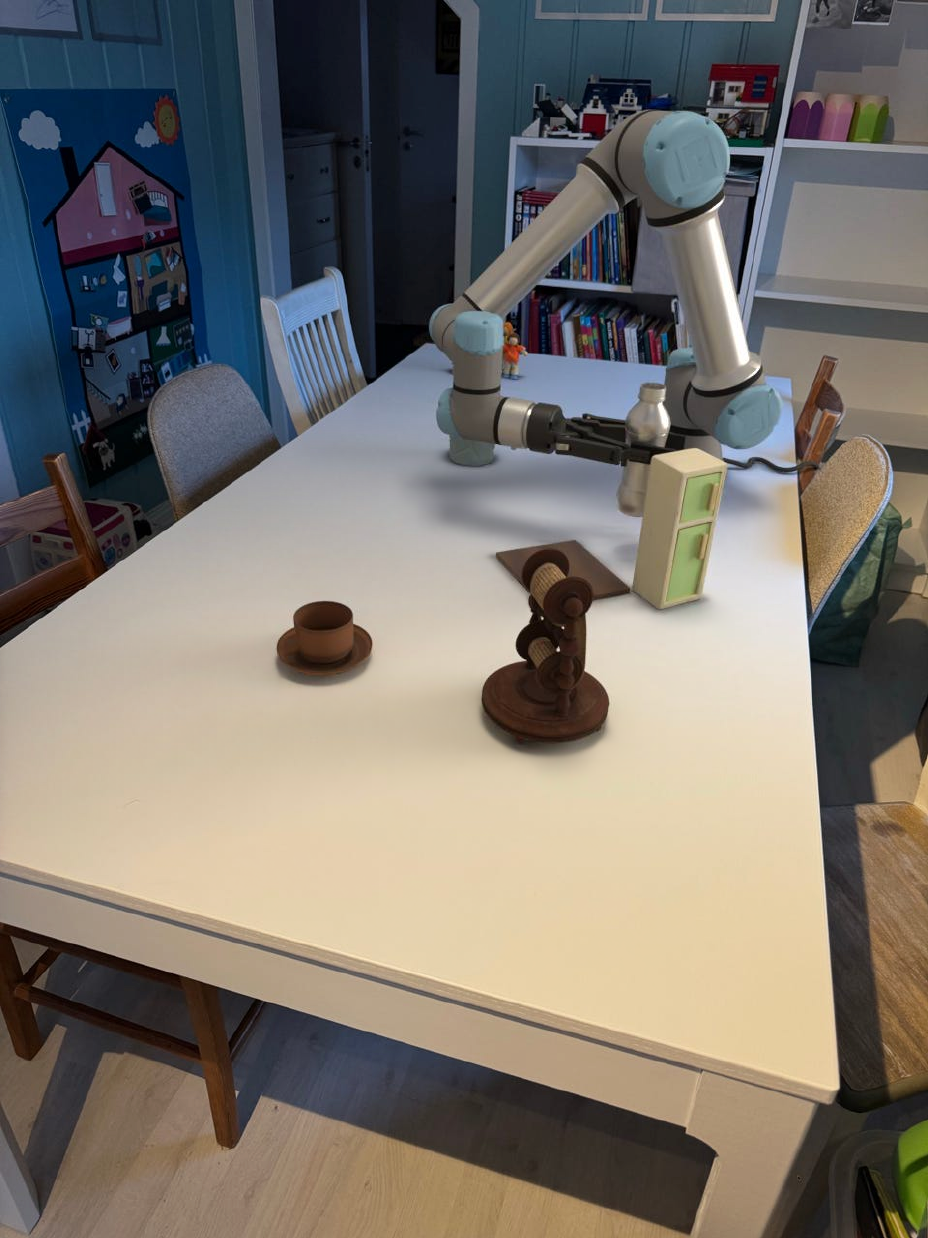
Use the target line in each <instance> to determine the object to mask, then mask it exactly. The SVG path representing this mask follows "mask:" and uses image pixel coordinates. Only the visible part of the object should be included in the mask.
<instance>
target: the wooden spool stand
mask: <svg viewBox="0 0 928 1238" xmlns="http://www.w3.org/2000/svg"><path fill="white" fill-rule="evenodd" d="M569 568H570V565H569V560H568V558H567V556H566V555H565V554H564V553H563V552H562V551H560V550H558V549H554V548H546V549H542V550H539V551H537V552H535V553H534V554H533V555H531V556H530V557H529V558H528V559H527V561H526V562H525V564H524V566H523V569H522V573H521V577H522V582H523V584H524V586H525V587H526V588H527V589H528V590H529V591H531V594H530V593H529V595H528V598H527V602H528V603H527V605H528V607H529V609H530V613H532V614H531V615H530V616H531V617H530V618H529V620H528V624H526V625H525V626H523V628H522V629H521V630H520V631H519V633H518V635H517V636H516V639H515V650H516V653H517V654H518V656H519V657H520V658H522V659H523V660H521V661H517V662H512V663H509V664H506V665H504V666H501V667H500V668H498V669H497V670H494V671H493V672H492V673H491V674H490V675H489V676H488V677H487V678H486V679H485V681H484V683H483V686H482V690H481V706H482V709H483V712H484V714H485V716H487V717H486V718H488V719H489V720H490V721H491V722H492V724H494V725H495V726H496V727H497V728H499V729H500V730H502V731H503V732H505V733H507V734H510V735H511V736H514V739H515V742H516V744H517V745H519V746H520V745H522V744H523V743H524V741H525V740H526V741H529V742H536V743H544V744H545V743H546V744H560V743H569V742H575V741H578V740H581V739H583V738H586V737H589V736H591V735H592V734H594V733H595V732H596V733H597V732H600V730H601V729H602V727H603V725H604V723H605V722H606V720H607V717H608V714H609V709H610V708H609V707H610V698H609V693H608V692H607V690H606V688H605V687H604V685H603V684H602V683H601V682H600V681H599V680H598V679H597V678H596V677H594V676H593V675H592V674H591V673H589V672H587V671H585V670H586V657H587V656H586V655H587V615H586V614H587V613H588V611H589V610H590V609H591V607H592V605H593V601H594V600H593V597H594V593H593V589H592V586H591V585H590V583H589V582H588V581H587V580H585V579H583V578H581V577H576V576H572V577H567V576H568V573H569ZM524 586H523V587H524ZM525 587H524V588H525ZM526 588H525V589H526ZM558 649H559V650H558Z"/></svg>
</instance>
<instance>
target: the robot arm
mask: <svg viewBox="0 0 928 1238" xmlns="http://www.w3.org/2000/svg"><path fill="white" fill-rule="evenodd" d="M730 165H731V151H730V147H729V143H728V140H727V137H726V135H725V132H724V131H723V129H721V127H720V126H719V125H718V124H717V123H716V122H715V121H713V120H712V119H710V118H709V117H706V116H704V115H701V114H700V113H697V112H694V111H688V110H676V111H667V110H660V109H644V110H640V111H638V112H635V113H633V114H630V115H629V116H628V117H626V118H625V119H623V120H622V121H621V122H620V123H618V124H617V125H616V126H615V127H614V128H612V129H611V131H609V133H607V134H606V135H605V136H604V137H603V138H602V139H601V140H600V141H599V142H598V143H597V144H596V145H595V146H594V147H593V148H592V150H590V152H588V154H586V155H585V157H584V158H583V159H581V161H580V162H578V164H577V165H576V169H575V176H574V178H572V180H571V181H570V182H568V183H567V185H566V186H565V187H563V189H562V190H561V191H560V192H559V193H558V194H557V196H555V197H554V199H552V201H550V203H549V204H547V206H546V207H545V208H544V209H543V210H542V211H541V212H540V213H539V214H538V215H536V217H535V218H534V219H533V220H532V221H531V223H529V225H527V227H526V228H525V229H524V230H523V231H522V232H521V233H520V234H519V235H518V236H517V237H516V238H515V239H514V240H513V241H512V242H511V243H510V244H509V245H508V246H507V247H506V248H505V250H504V251H502V253H501V254H500V255H498V257H496V258H495V260H494V261H493V262H492V263H491V264H490V265H489V266H488V267H487V268H486V269H485V270H484V272H482V273H481V275H479V276H478V278H477V279H476V280H475V281H474V282H473V283H472V284H470V286H469V287H468V288H467V289H466V290H465V291H464V292H463V293H462V294H461V295H460V296H459V297H458V298H456V300H455V301H454V302H453V303H446V304H443V305H441V306H439V307H438V308H437V309H436V310H435V311H433V313H432V315H431V317H430V318H429V323H428V324H429V325H428V330H429V335H430V337H431V339H432V341H433V343H434V344H435V347H436V348H437V350H439V352H440V353H443V354H444V355H445V356H446V357H447V358H448V359H449V360H450V361H452V362H453V364H452V367H453V369H452V371H453V373H452V376H453V379H452V387H448V388H446V389H445V390H443V391H442V393H441V394H440V396H439V398H438V401H437V408H436V409H435V410H436V411H435V419H436V425H437V427H438V429H439V430H440V432H442V433H443V434H445V435H448V436H449V435H451V436H455V437H459V438H462V439H464V440H474V441H480V442H486V443H492V444H495V445H498V446H504V447H510V449H511V450H512V451H516V450H517V449H521V450H527V449H529V451H530V452H535V453H540V454H546V455H551V454H554V453H555V455H558V456H570V457H576V458H580V459H584V460H590V461H594V462H598V463H603V464H608V465H613V466H619V465H620V467H622V468H624V467H626V466H627V460H629V461H631V462H637V463H642V464H648V465H650V464H651V459H652V457H653V456H654V455H659V454H664V453H670V452H675V451H680V450H685V449H691V448H697V449H700V450H702V451H704V452H706V453H708V454H710V455H712V456H714V457H716V458H718V459H720V460H722V461H724V462H725V463H727V465H732V466H736V467H739V468H742V469H749V468H751V466H752V465H753V463H754V462H757V463H761V464H763V465H765V466H767V467H769V468H770V469H772V470H773V471H776V472H779V473H786V474H788V473H794V472H798V471H799V470H802V469H804V468H807V467H809V466H810V467H812V468H813V469H815V470H821V467H820V466H819V464H818V463H817V462H815V461H813V460H807V461H804V462H801V463H799V464H797V465H794V466H791V467H783V466H779V465H777V464H775V463H773V462H771V461H770V460H768V459H766V458H764V457H761V456H752V457H749V458H748V459H747V461H746V462H741V461H739V460H734V459H731V458H726V457H724V455H723V447H722V445H723V446H727V447H729V448H731V449H734V450H748V449H751V448H754V447H756V446H758V445H759V444H761V443H762V442H764V441H766V439H767V438H768V437H770V435H772V433H773V432H774V429H775V427H776V426H777V425H779V422H780V420H781V417H782V413H783V400H782V397H781V395H780V393H779V391H778V390H776V388H775V387H774V386H772V385H770V384H768V383H767V381H766V377H765V372H764V367H763V364H762V359H761V357H760V356H759V354H757V353H756V352H752V351H750V350H749V346H748V345H749V344H748V342H747V337H746V333H745V328H744V324H743V318H742V315H741V314H742V313H741V311H740V306H739V302H738V296H737V292H736V288H735V283H734V280H733V274H732V269H731V266H730V262H729V257H728V253H727V248H726V243H725V239H724V235H723V231H722V226H721V220H720V217H719V213H718V212H719V209H720V207H721V206H722V205H723V203H724V201H725V199H726V194H725V189H724V184H725V182H726V176H727V175H728V174H729V170H730ZM638 197H639V198H640V200H641V201H640V202H641V205H642V208H643V212H644V215H645V219H646V223H647V225H648V227H649V228H650V229H652V230H655V231H657V232H659V234H660V236H661V238H662V242H663V245H664V249H665V253H666V257H667V260H668V264H669V268H670V272H671V275H672V279H673V283H674V286H675V291H676V294H677V298H678V301H679V302H678V303H679V306H680V309H681V313H682V316H683V321H684V324H685V329H686V331H687V335H688V339H689V342H690V346H691V347H682V348H677V349H674V350H672V352H671V353H670V354H669V356H668V359H667V363H666V367H665V370H664V371H665V377H664V381H663V382H664V383H663V385H665V386H666V393H665V396H666V398H665V401H663V405H664V407H665V408H666V410H667V412H668V414H669V417H670V422H671V425H670V430H669V433H668V436H667V440H666V443H665V447H659V446H653V445H648V444H642V443H636V442H632V443H631V447H629V444H627V443H626V436H625V419H621V418H614V417H613V418H612V417H605V416H600V415H599V416H598V415H596V414H595V415H594V414H590V413H587V412H584V413H582V414H581V415H582V416H581V417H578V416H573V417H567V418H566V417H565V416H564V414H563V412H564V411H563V409H562V407H561V406H560V405H557V404H552V403H546V402H540V401H539V402H538V403H537V402H535V401H534V400H530V399H523V398H518V397H516V398H515V397H510V396H504V395H501V387H502V386H501V384H502V373H501V369H502V370H503V367H502V353H503V345H504V337H503V323H504V321H503V320H504V319H505V317H507V315H508V314H509V313H511V311H512V310H513V309H514V308H515V307H517V305H518V304H519V303H520V302H521V301H522V300H523V299H525V297H526V296H528V294H529V293H530V292H531V291H532V290H534V289H535V287H536V286H538V284H539V283H540V282H541V281H542V280H543V279H544V278H545V277H546V276H548V274H549V273H550V272H551V271H552V270H554V269H555V267H556V266H557V265H558V264H559V263H560V262H561V261H562V260H563V259H564V258H565V257H566V256H567V255H568V254H569V253H570V252H571V251H572V250H573V249H574V248H575V247H576V246H577V245H578V244H579V243H580V242H581V241H582V240H583V239H584V238H585V237H586V236H587V235H588V234H589V233H590V232H591V231H592V230H593V229H594V228H595V227H596V225H598V224H599V223H600V222H601V221H602V220H603V219H604V218H605V217H606V216H607V215H609V214H610V215H611V214H612V215H613V214H614V215H615V214H617V213H619V212H620V211H621V210H622V208H624V207H625V206H626V205H627V204H628V203H629V202H631V201H632V200H634V199H636V198H638Z"/></svg>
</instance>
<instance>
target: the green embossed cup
mask: <svg viewBox="0 0 928 1238" xmlns="http://www.w3.org/2000/svg"><path fill="white" fill-rule="evenodd" d="M448 436H449V440H448V441H449V459H450V460H451V461H452V462H453V463H455V464H457V465H460V466H467V467H480V466H485V465H488V464H490V463H492V461H493V459H494V454H495V445H496V444H492V443H486V442H480V441H474V440H464V439H462V438H459V437H455V436H451V435H448Z"/></svg>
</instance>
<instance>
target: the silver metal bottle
mask: <svg viewBox="0 0 928 1238" xmlns="http://www.w3.org/2000/svg"><path fill="white" fill-rule="evenodd" d="M665 393H666V386H665V385H664V383H663V384H662V383H658V382H643V383H641V384H640V385H639V391H638V394H637V399H638V402H637V403H636V404H634V405H633V407H631V409H630V410H629V411H628V413H627V415H626V417H625V419H624V420H625V436H626V443H627V444H629V447H631V443H632V442H636V443H642V444H648V445H653V446H659V447H665V443H666V440H667V436H668V433H669V430H670V425H671V422H670V417H669V414H668V412H667V410H666V408H665V407H664V405H663V401H665V398H666V396H665ZM649 470H650V465H648V464H642V463H637V462H631V461H629V460H627V466H626V467H622V474H621V478H620V482H619V485H618V487H617V491H616V495H615V499H616V507H617V508H618V510H619V512H620V513H622V514H623V515H626V516H630V517H632V518H643V512H644V505H645V498H646V491H647V484H648V477H649Z"/></svg>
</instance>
